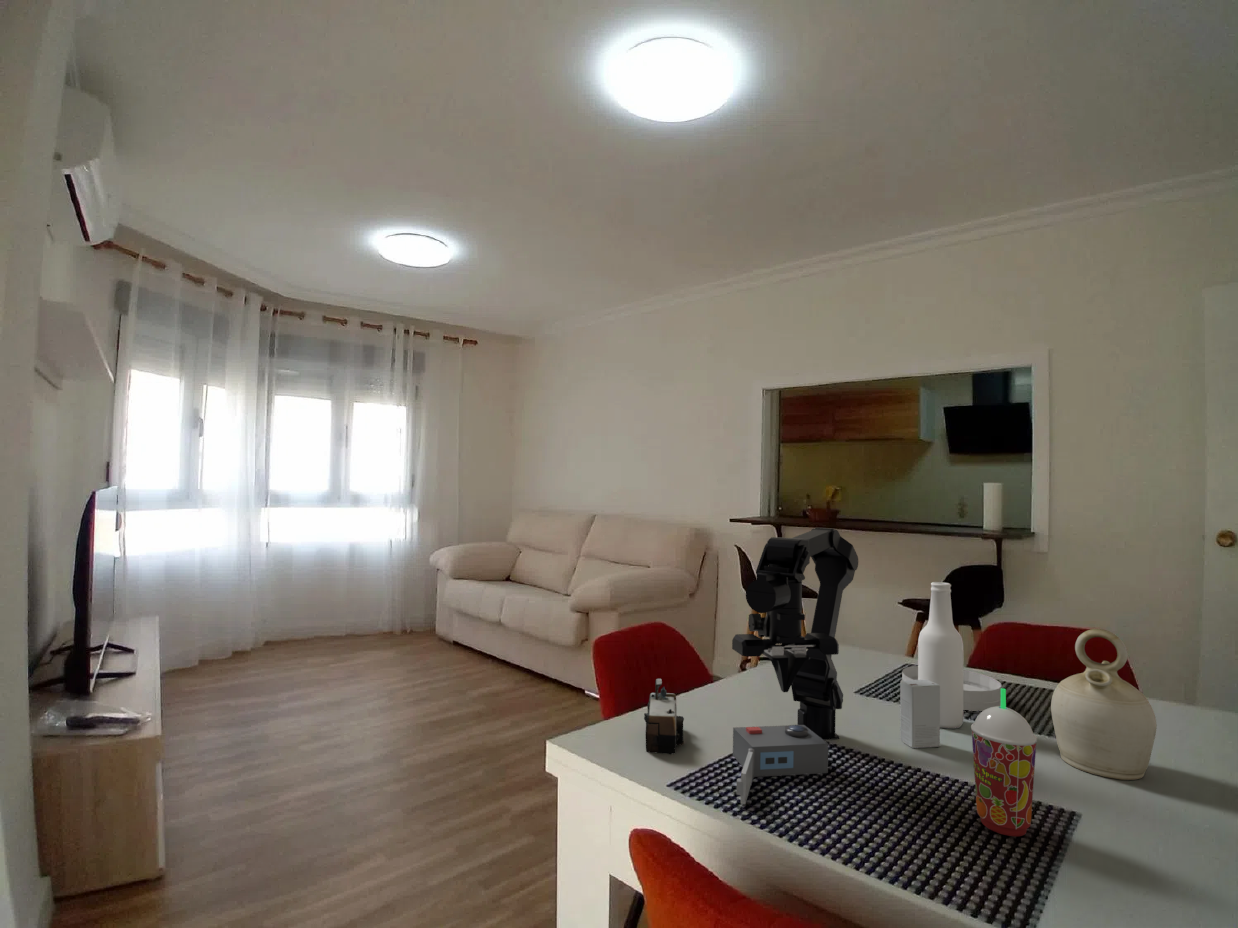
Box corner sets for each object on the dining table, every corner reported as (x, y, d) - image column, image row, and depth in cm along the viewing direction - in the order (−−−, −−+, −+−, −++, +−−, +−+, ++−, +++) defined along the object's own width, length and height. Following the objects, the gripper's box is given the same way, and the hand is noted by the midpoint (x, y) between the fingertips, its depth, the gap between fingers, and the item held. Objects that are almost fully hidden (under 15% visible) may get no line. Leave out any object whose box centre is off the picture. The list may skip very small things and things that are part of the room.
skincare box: (926, 739, 126) (926, 678, 127) (941, 748, 122) (941, 684, 122) (898, 740, 125) (898, 678, 126) (912, 749, 121) (912, 685, 121)
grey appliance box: (803, 751, 118) (804, 719, 118) (828, 773, 109) (828, 738, 109) (732, 755, 116) (733, 721, 116) (752, 777, 106) (752, 741, 107)
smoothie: (958, 812, 96) (959, 680, 97) (1010, 812, 97) (1009, 680, 98) (995, 842, 88) (995, 697, 89) (1051, 841, 89) (1051, 697, 90)
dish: (911, 679, 170) (911, 660, 171) (1006, 696, 158) (1006, 676, 158) (892, 699, 152) (892, 678, 153) (998, 720, 140) (998, 697, 140)
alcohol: (959, 732, 130) (959, 587, 132) (913, 722, 136) (914, 582, 137) (966, 721, 137) (966, 583, 139) (922, 712, 143) (923, 579, 144)
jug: (1130, 792, 105) (1128, 641, 107) (1033, 756, 119) (1033, 623, 120) (1174, 775, 112) (1172, 634, 114) (1078, 744, 126) (1077, 618, 127)
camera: (683, 756, 114) (684, 700, 115) (642, 753, 115) (643, 697, 116) (684, 727, 129) (686, 677, 130) (648, 724, 130) (649, 675, 131)
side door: (746, 804, 96) (746, 773, 97) (736, 803, 97) (736, 771, 97) (754, 777, 106) (754, 748, 106) (745, 775, 107) (745, 747, 107)
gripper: (811, 598, 126) (810, 677, 125) (722, 598, 123) (721, 679, 122) (840, 608, 115) (839, 695, 114) (744, 609, 112) (742, 698, 111)
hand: (784, 691), depth 116 cm, fingers closed
